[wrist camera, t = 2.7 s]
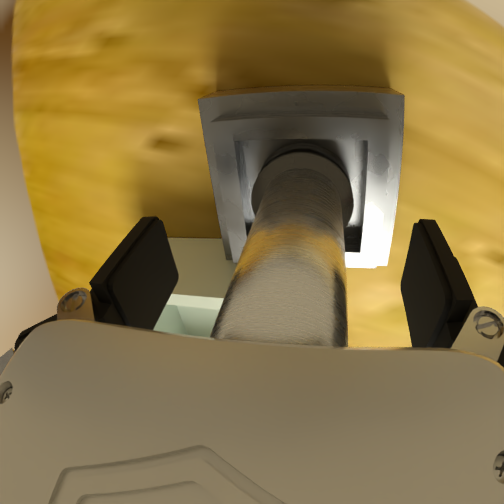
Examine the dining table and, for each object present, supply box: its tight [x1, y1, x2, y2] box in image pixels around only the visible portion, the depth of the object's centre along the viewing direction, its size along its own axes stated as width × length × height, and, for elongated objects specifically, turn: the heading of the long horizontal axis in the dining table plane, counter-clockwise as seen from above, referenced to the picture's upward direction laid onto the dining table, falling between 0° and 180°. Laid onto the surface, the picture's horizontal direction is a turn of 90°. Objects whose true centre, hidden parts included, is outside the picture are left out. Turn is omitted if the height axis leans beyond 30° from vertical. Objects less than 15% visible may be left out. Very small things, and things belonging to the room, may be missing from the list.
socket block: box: [198, 85, 404, 268], centre depth 16 cm, size 10×10×4 cm
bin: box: [153, 238, 237, 337], centre depth 24 cm, size 13×13×6 cm
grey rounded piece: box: [210, 142, 354, 347], centre depth 11 cm, size 5×5×13 cm
